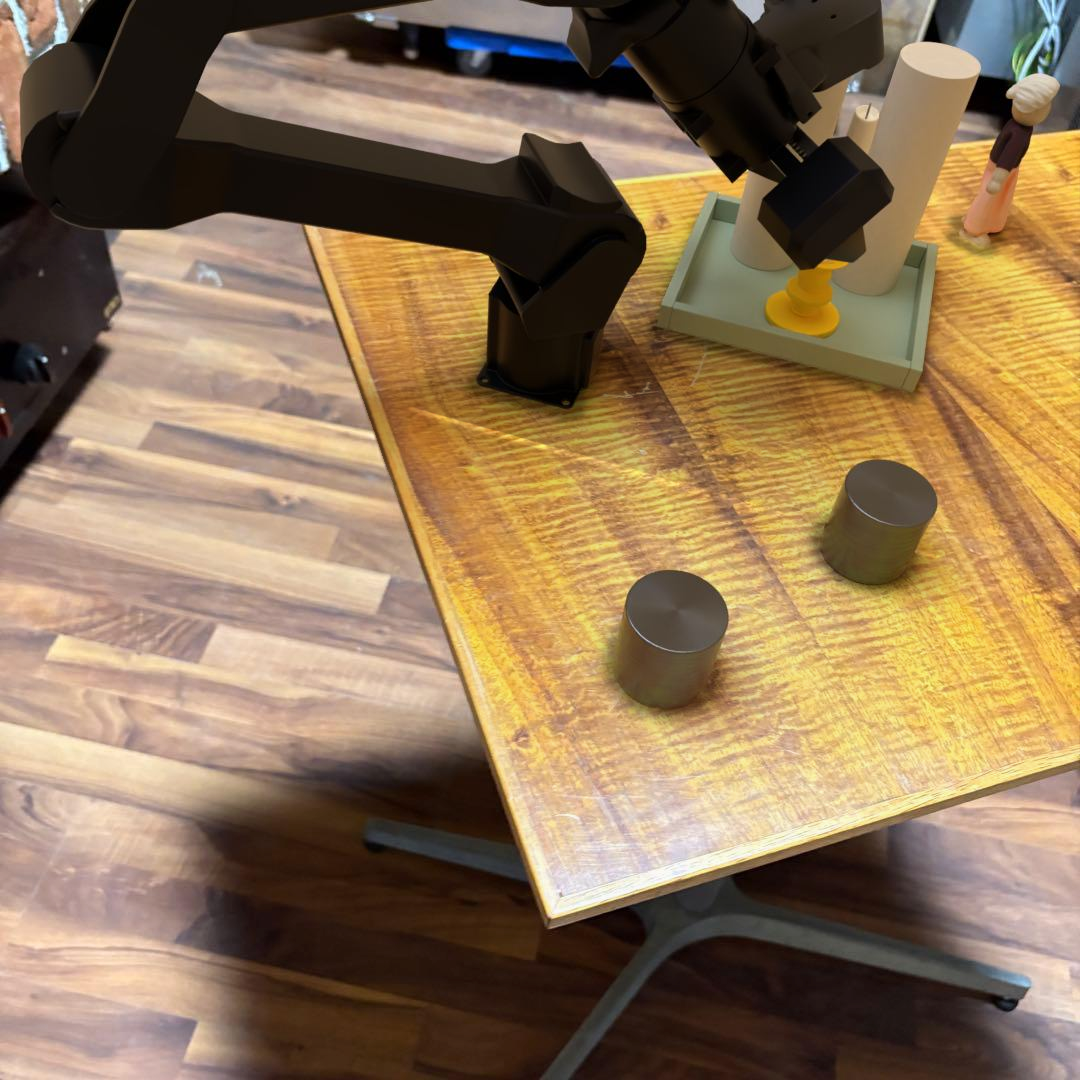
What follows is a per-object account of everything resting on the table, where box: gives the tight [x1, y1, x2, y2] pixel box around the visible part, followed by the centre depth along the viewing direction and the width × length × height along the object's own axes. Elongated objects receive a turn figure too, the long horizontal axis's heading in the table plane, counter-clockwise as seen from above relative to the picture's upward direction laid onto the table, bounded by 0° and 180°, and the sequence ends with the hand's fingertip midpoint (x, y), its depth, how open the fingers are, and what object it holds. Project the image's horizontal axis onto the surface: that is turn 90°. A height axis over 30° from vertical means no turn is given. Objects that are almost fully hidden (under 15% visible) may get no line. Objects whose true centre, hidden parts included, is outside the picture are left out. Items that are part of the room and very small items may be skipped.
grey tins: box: [612, 458, 939, 710], centre depth 54 cm, size 5×20×5 cm, turn 125°
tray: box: [656, 190, 939, 394], centre depth 73 cm, size 18×16×2 cm
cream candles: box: [730, 41, 982, 296], centre depth 70 cm, size 12×5×16 cm, turn 72°
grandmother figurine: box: [958, 72, 1061, 247], centre depth 77 cm, size 8×4×13 cm, turn 168°
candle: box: [764, 102, 880, 339], centre depth 66 cm, size 5×5×16 cm
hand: (820, 215), depth 65 cm, fingers open, 9 cm apart
